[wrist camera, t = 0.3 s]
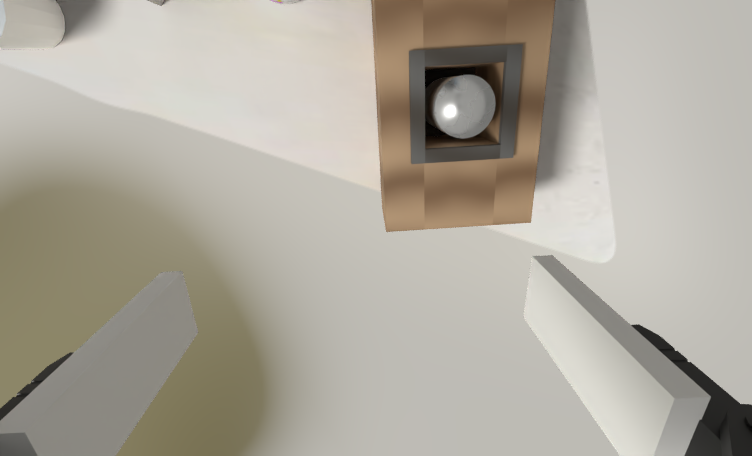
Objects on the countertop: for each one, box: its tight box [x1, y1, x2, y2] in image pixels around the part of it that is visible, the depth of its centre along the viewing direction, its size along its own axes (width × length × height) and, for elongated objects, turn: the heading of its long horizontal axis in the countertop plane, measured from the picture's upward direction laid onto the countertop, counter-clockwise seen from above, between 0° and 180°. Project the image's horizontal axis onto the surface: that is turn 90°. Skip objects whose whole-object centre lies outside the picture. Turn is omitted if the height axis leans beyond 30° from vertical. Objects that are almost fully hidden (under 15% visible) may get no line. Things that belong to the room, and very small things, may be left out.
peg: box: [425, 75, 495, 138], centre depth 33 cm, size 5×5×8 cm
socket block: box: [371, 0, 555, 232], centre depth 34 cm, size 22×14×9 cm, turn 3°
